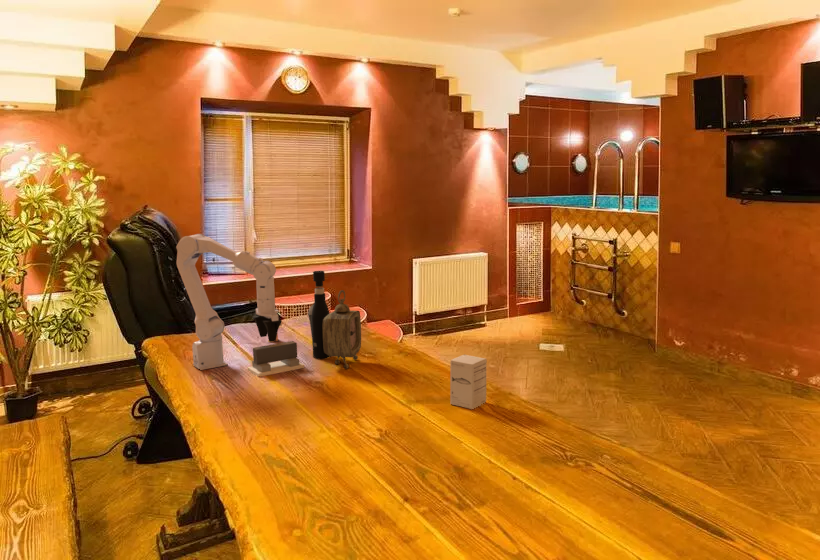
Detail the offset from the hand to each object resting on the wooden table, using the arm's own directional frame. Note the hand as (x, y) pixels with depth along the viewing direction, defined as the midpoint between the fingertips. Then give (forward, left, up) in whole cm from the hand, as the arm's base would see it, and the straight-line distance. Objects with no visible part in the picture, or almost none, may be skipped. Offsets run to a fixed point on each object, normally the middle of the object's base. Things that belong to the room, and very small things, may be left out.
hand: (267, 338), depth 213 cm
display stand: (0, -5, -9) cm, 10 cm away
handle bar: (0, -5, -6) cm, 8 cm away
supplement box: (+28, -69, -10) cm, 75 cm away
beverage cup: (+26, +15, -10) cm, 32 cm away
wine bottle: (+19, -1, -10) cm, 22 cm away
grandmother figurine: (+15, +31, -10) cm, 36 cm away
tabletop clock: (+20, -14, -10) cm, 26 cm away
